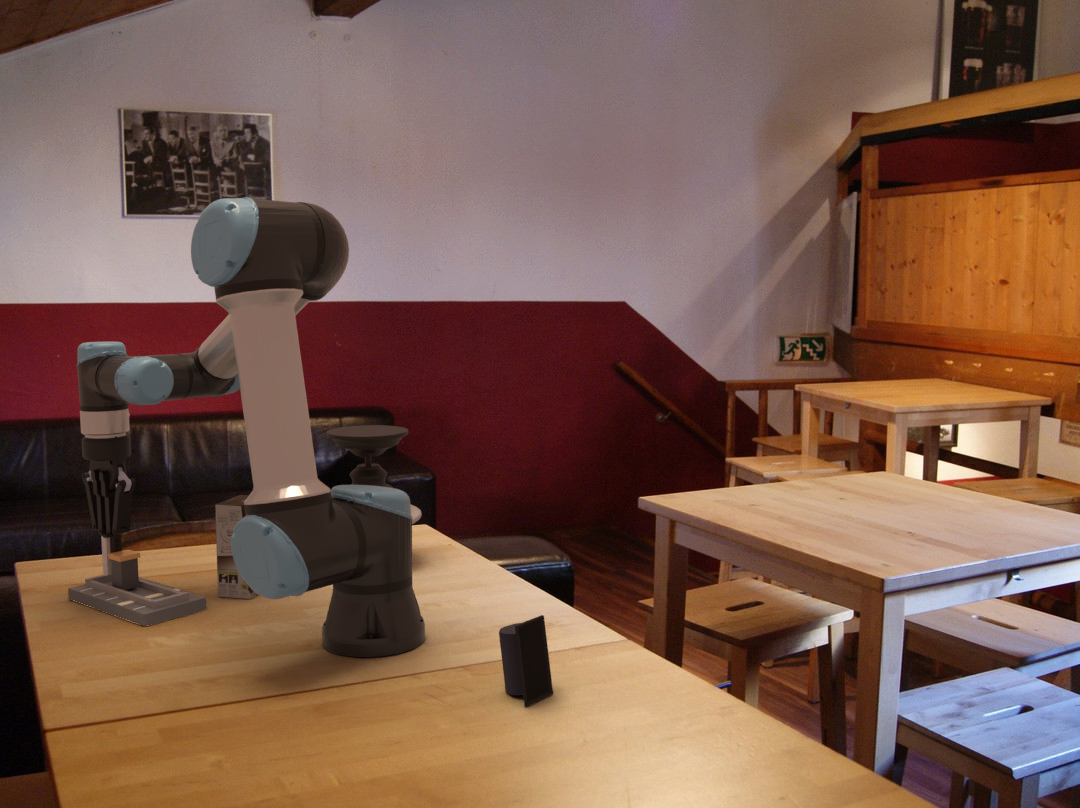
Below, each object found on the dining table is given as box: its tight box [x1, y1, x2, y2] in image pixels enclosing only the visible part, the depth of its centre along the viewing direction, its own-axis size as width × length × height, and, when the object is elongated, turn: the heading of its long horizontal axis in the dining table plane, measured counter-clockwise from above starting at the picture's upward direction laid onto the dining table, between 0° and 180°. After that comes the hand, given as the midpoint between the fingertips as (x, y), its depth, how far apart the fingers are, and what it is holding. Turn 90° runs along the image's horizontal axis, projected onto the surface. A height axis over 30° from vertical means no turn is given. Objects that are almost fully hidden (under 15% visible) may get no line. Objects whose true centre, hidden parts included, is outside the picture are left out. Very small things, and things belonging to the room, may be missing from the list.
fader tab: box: [108, 549, 141, 590], centre depth 174 cm, size 4×4×6 cm
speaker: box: [498, 614, 554, 708], centre depth 135 cm, size 8×6×10 cm
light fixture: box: [326, 424, 423, 525], centre depth 196 cm, size 20×20×25 cm
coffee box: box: [214, 494, 259, 600], centre depth 179 cm, size 9×6×16 cm
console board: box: [67, 574, 208, 627], centre depth 172 cm, size 23×11×3 cm, turn 52°
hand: (113, 572), depth 176 cm, fingers closed
